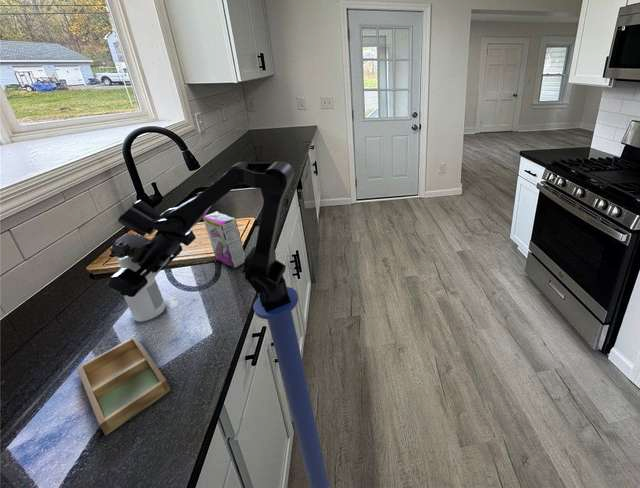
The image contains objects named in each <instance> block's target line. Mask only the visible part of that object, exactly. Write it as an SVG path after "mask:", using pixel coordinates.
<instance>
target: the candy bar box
mask: <svg viewBox="0 0 640 488" xmlns="http://www.w3.org/2000/svg"><path fill="white" fill-rule="evenodd" d="M202 219H203V222H204V225H205V229H206V232H207V235H208V238H209V242H210V245H211V247H212V250H213V253H214V257H215V259H216V260H217V261H218V262H221V263H223V264H224V265H227V266H228V267H230V268H232V269H236V268H238V267H240V266H242V265H244V260H245V258H246V256H247V255H246V252H245V249H244V244H243V241H242V238H241V234H240V230H239V227H238V223H237V220H236V218H235V217H233V216H230V215H227V214H226V213H223V212H219V211H213V212H211V213H209V214H205V216H204V217H203V218H202Z"/></svg>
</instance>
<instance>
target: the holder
mask: <svg viewBox="0 0 640 488" xmlns="http://www.w3.org/2000/svg"><path fill="white" fill-rule="evenodd" d="M76 371H77V373H78V375H79V377H80V381H81V382H82V385H83V388H84V391H85V393H86V395H87V398H88V400H89V403H90V406H91V408H92V410H93V413H94V415H95V418H96V420H97V424H98V426H99V427H100V429H101V430H102V432H103V434H104V435H105V436H106V437H107V435H110V434H111V433H112V432H114V431H115V430H116V429H117V428H119V427H121V426H122V425H123V424H124V423H126V422H127V421H129V420H131V419H132V418H133V417H135V416H136V415H138V414H139V413H141V412H142V411H143V410H145V409H146V408H148V407H149V406H150V405H152V404H153V403H155V402H157V401H158V400H160V399H161V398H162V397H164V396H165V395H167V394H169V392H171V390H172V389H171V387H170V385H169V383H168V380H167V379H166V378H165V376H164V375H163V373H162V372H161V370H160V369H159V367H158V366H157V364H156V362H155V361H154V360H153V359H152V356H151V355H150V354H149V352H148V351H147V350H146V348H145V347H144V346H143V344H142V342H141V341H140V339H139V338H138V337H137V335H134V336H132V337H130V338H128V339H126V340H125V341H123V342H121V343H119V344H116V345H114V346H113V347H112V348H110V349H108V350H106V351H104V352H102V353H101V354H99V355H97V356H95V357H92V358H91V359H89V360H87V361H86V362H84V363H82V364H80V365H78V366H76Z"/></svg>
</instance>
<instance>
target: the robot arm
mask: <svg viewBox="0 0 640 488" xmlns="http://www.w3.org/2000/svg"><path fill="white" fill-rule="evenodd" d="M294 176H295V170H294V168H293V167H292V165H290V164H289V162H286V161H283V160H278V161H275V162H269V161H268V162H266V161H263V162H247V161H238V162H236V163H235V164H233V165H232V166H230V167H229V168H228V170H227V171H226V172H225V173H224V174H222V175H221V176H220V177H219V178H217V179H216V180H215V181H214V182H213V183H212V184H210V185H209V186H208V187H207V188H206V189H205V190H203V191H202V192H200V194H198V195H197V196H195V197H192V198H190V199H188V200H187V201H184V202H183V203H181V204H180V205H178V206H176V207H171V208H168V209H167V210H165V211H164V212H160V211H158V210H157V209H155V208H153V207H152V206H150V205H149V204H147V202H145V201H143V200H142V199H139V200H137V201H136V202H134V203H133V204H132V205H131V207H129V208H128V209H127V210H126V211H125V212H124V213H123V214H121V215H120V216H119V217H118V219H117V223H118V224H120V225H123V227H126V228H127V229H129V230H130V231H132V232H134V233H131V232H128V233H124V234H123V235H121V237H119V238H117V239H116V240H115V242H114V243H113V244H112V245H111V247H109V251H110V255H111V256H113V257H116V258H118V257H119V258H124V257H125V256H128V257H133V258H132V260H131V261H132V262H134V263H138V264H137V265H138V266H140V267H141V268H139V269H138V270H137V271H136V272H135V271H133V270H131V269H129V268H122V269H120V268H119V270H117V272H115V273H114V274H113V275H111V276H110V277H109V279H108V280H107V281H106V285H107V287H109V288H112V289H114V290H115V291H117V292H119V295H120V296H121V295H122V296H123V297H124V296H125V295H127V296H129V297H134V296H135V295H136V294H137V293H138V292H140V291H141V290H142V289H143V288H144V287H145V286H146V285H147V283H148V281H147V279H146V276H147V275H148V274H149V273H151V272H152V273H153V274H154V273H156V274H157V273H158V272H159V271H160V270H162V269H163V268H164V267H166V266H168V265H169V264H170V263H172V261H173V260H174V259H176V258H177V257H178V256H179V255H180V254H181V252H182V251H183V250H184V249H183V246H182V245H181V244H183V245H184V246H187V247H188V246H189V245H191V243H193V242H194V241H195V240H196V239H197V237H196V235H195V233H194V231H193V230H191V229H193V228H194V227H195V226H196V225H197V224H198V223H199V222H200V221H201V220H202V219H203V217H204V216H206V215H207V213H208V212H209V210H210V209H211V207H212V206H213V205H214V204H216V203H217V202H218V201H219V200H221V199H222V198H223V197H225V195H227V194H228V193H229V192H231V191H232V190H233V189H234V188H235V187H237V186H238V185H239V184H240V185H245V186H248V187H250V188H253V189H259V190H260V193H261V198H262V200H263V201H262V209H261V214H260V220H259V227H258V231H257V237H256V242H255V246H252V248H251V249H250V250H249V252H248V254H247V255H245V256H246V258H245V260H244V263H243V270H242V271H241V274H243V275H244V277H243V278H244V280H245V281H247V282H248V283H249V284H250V285H251V287H252V288H253V289H254V292H256V293H257V294H258V297H259V299H260V302H261V305H262V307H264V308H265V311H266V312H269V311H271V310H273V309H276V308H278V307H281V306H283V305H286V304H288V303H290V302H291V300H290V298H289V296H288V291H287V287H288V286H287V283H286V279H285V277H284V273H285V272H286V269H287V266H286V264H284V263H282V262H281V261H280V260H277V254H276V253H277V252H276V251H275V243H276V236H277V233H278V228H279V222H280V218H281V212H282V208H283V207H282V206H283V202H284V198H285V196H286V194H287V192H288V191H289V188H290V186H291V184H292V181H293V179H294ZM153 233H155V234H154V235H153V236H152V237H151V239H150V238H147V237H146V235H149V236H150V235H152V234H153ZM145 270H146V271H145ZM144 271H145V272H144ZM143 272H144V273H143ZM142 273H143V274H142ZM141 274H142V275H141Z"/></svg>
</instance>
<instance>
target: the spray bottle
mask: <svg viewBox="0 0 640 488" xmlns="http://www.w3.org/2000/svg"><path fill="white" fill-rule="evenodd" d="M132 258H133V257H128V256H125V257H124V258H119V257H117V261H118V264H119V270H120V269H122V268H129V269H131V270H133V271H135V272H136V271H137V270H138V269H139V268H141V267H140V266H138V265H137V264H138V263H134V262H132V261H131V260H132ZM145 271H146V270H145ZM145 271H144V272H145ZM144 272H143V273H144ZM143 273H142V274H143ZM142 274H141V275H142ZM146 279H147V281H148V283H147V285H146V286H145V287H144V288H143V289H142V290H141V291H140V292H138V293H137V294H136V295H135V296H134V297H129V296H127V295H125V296H123V297H124V300H125V303H126V304H127V306H128V309H129V312H130V313H131V315H132V318H133V320H135V321H136V322H138V323H139V322H147V321H150V320H152V319H154V318H156V317H158V316H159V315H161V314H162V313H163V312H164V311H165V310H166V302H165V300H164V298H163V296H162V292H161V290H160V287H159V285H158V283H157V280H156V277H155V275H154V273H152V272H151V273H149V274H148V275H147V276H146Z"/></svg>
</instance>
